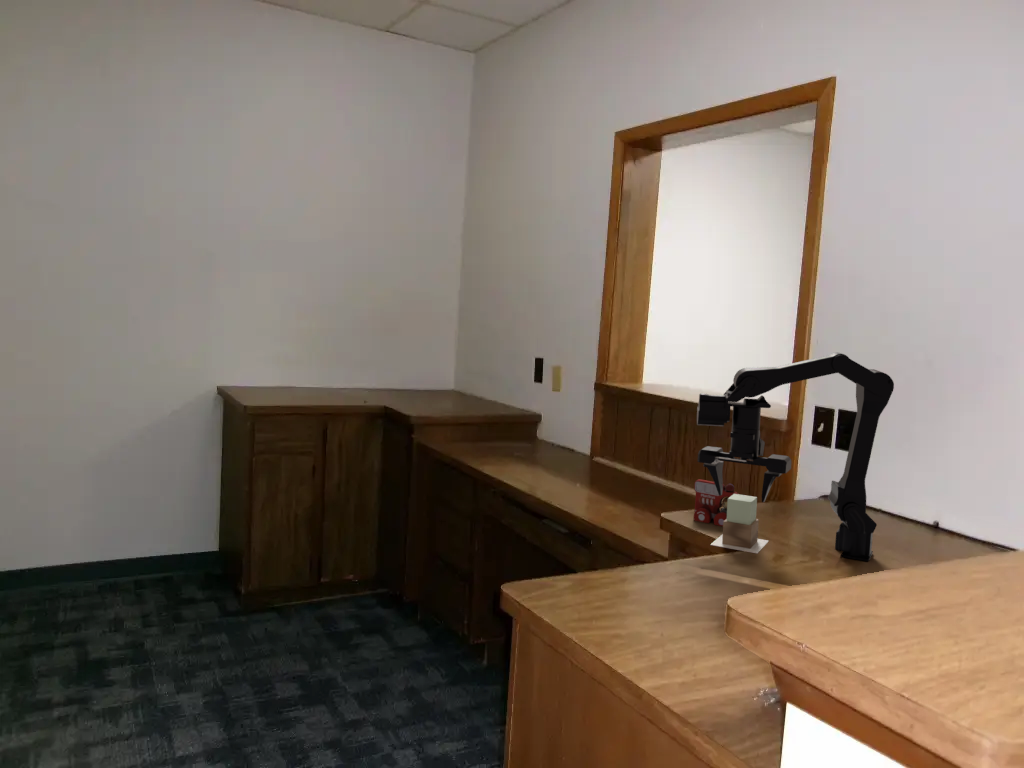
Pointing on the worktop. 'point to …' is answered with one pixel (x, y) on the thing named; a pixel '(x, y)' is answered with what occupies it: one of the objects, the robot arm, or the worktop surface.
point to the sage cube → (741, 509)
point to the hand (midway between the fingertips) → (741, 498)
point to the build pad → (754, 549)
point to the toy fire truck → (711, 502)
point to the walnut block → (740, 534)
